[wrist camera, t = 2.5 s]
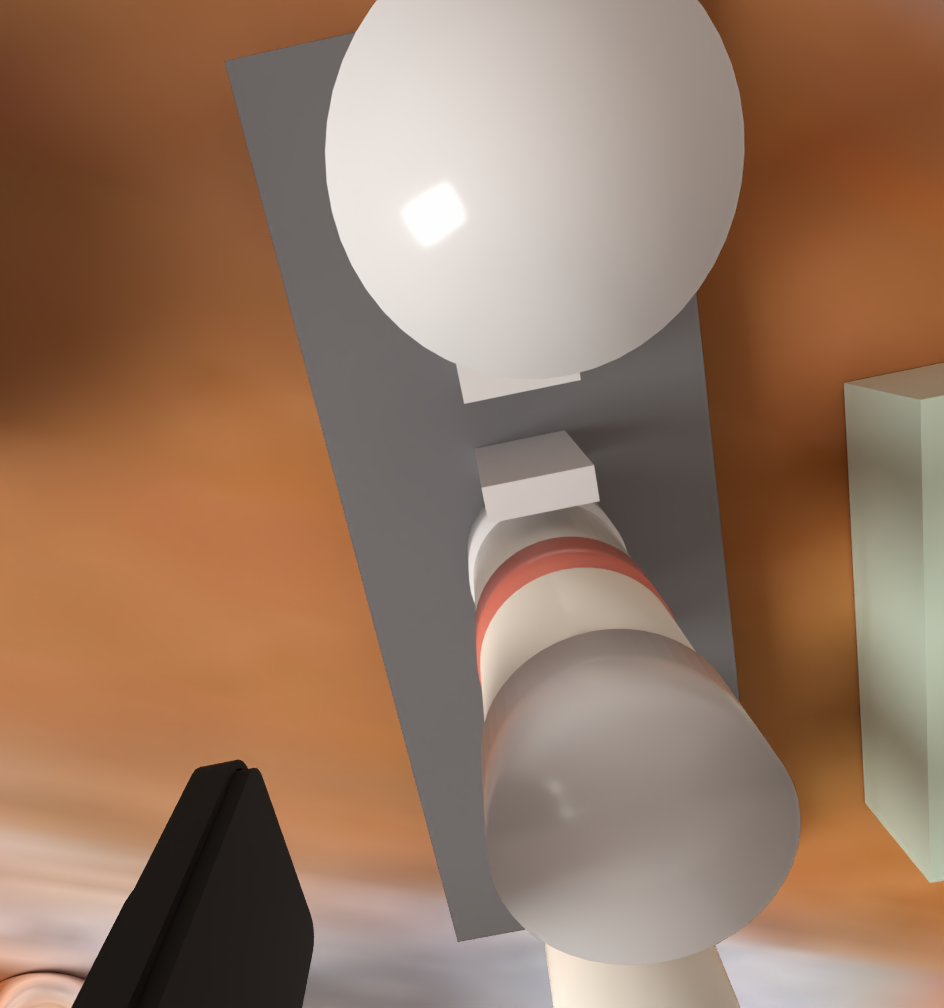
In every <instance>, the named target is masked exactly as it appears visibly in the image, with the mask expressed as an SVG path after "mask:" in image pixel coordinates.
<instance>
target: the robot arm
mask: <svg viewBox="0 0 944 1008" xmlns="http://www.w3.org/2000/svg"><path fill="white" fill-rule="evenodd" d="M313 946H314V929H313V922H312V918H311V914H310V912H309V909H308V906H307V903H306V900H305V897H304V894H303V892H302V889H301V886H300V883H299V880H298V877H297V874H296V872H295V869H294V866H293V863H292V860H291V857H290V854H289V852H288V849H287V846H286V843H285V840H284V837H283V834H282V832H281V829H280V826H279V823H278V820H277V817H276V814H275V811H274V809H273V806H272V803H271V800H270V797H269V794H268V791H267V789H266V786H265V783H264V780H263V777H262V775H261V773H260V771H259V770H258V769H257V768H251V769H248V768H247V766H246V764H245V763H244V762H243V761H241V760H234V761H229V762H224V763H219V764H214V765H209V766H204V767H200V768H197V769H196V770H195V771H194V773H193V774H192V776H191V778H190V780H189V782H188V783H187V785H186V787H185V789H184V791H183V793H182V795H181V797H180V799H179V801H178V803H177V805H176V807H175V809H174V811H173V813H172V815H171V817H170V819H169V821H168V823H167V825H166V827H165V829H164V831H163V833H162V835H161V837H160V839H159V841H158V843H157V845H156V847H155V849H154V851H153V853H152V855H151V857H150V859H149V861H148V863H147V865H146V867H145V869H144V870H143V872H142V874H141V876H140V878H139V880H138V882H137V884H136V886H135V888H134V890H133V891H132V892H131V894H130V895H129V897H128V898H127V900H126V901H125V903H124V905H123V907H122V909H121V911H120V913H119V915H118V917H117V919H116V921H115V923H114V925H113V927H112V929H111V931H110V932H109V934H108V936H107V938H106V940H105V942H104V944H103V946H102V948H101V950H100V952H99V954H98V956H97V958H96V960H95V962H94V964H93V966H92V968H91V970H90V972H89V974H88V976H87V978H86V980H85V982H84V983H83V985H82V987H81V989H80V991H79V993H78V995H77V997H76V999H75V1001H74V1003H73V1005H72V1007H71V1008H302V1005H303V999H304V994H305V989H306V984H307V979H308V974H309V968H310V963H311V958H312V953H313Z"/></svg>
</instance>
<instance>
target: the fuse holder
mask: <svg viewBox="0 0 944 1008" xmlns="http://www.w3.org/2000/svg"><path fill="white" fill-rule="evenodd" d="M355 33H356V32H354V33H349V34H345V35H340V36H336V37H331V38H327V39H322V40H318V41H313V42H309V43H304V44H300V45H295V46H291V47H286V48H282V49H277V50H273V51H268V52H264V53H259V54H255V55H250V56H246V57H241V58H237V59H232V60H228V61H225V65H226V69H227V72H228V76H229V80H230V84H231V87H232V91H233V95H234V99H235V103H236V106H237V110H238V114H239V118H240V121H241V125H242V129H243V133H244V136H245V140H246V144H247V148H248V152H249V155H250V159H251V163H252V167H253V170H254V174H255V178H256V182H257V186H258V189H259V193H260V197H261V201H262V204H263V208H264V212H265V216H266V219H267V223H268V227H269V231H270V235H271V238H272V242H273V246H274V250H275V253H276V257H277V261H278V265H279V269H280V272H281V276H282V280H283V284H284V287H285V291H286V295H287V299H288V303H289V306H290V310H291V314H292V318H293V321H294V325H295V329H296V333H297V336H298V340H299V344H300V348H301V352H302V355H303V359H304V363H305V367H306V370H307V374H308V378H309V382H310V386H311V389H312V393H313V397H314V401H315V404H316V408H317V412H318V416H319V420H320V423H321V427H322V431H323V435H324V438H325V442H326V446H327V450H328V453H329V457H330V461H331V465H332V469H333V472H334V476H335V480H336V484H337V487H338V491H339V495H340V499H341V503H342V506H343V510H344V514H345V518H346V521H347V525H348V529H349V533H350V537H351V540H352V544H353V548H354V552H355V555H356V559H357V563H358V567H359V570H360V574H361V578H362V582H363V586H364V589H365V593H366V597H367V601H368V604H369V608H370V612H371V616H372V620H373V623H374V627H375V631H376V635H377V638H378V642H379V646H380V650H381V653H382V657H383V661H384V665H385V669H386V672H387V676H388V680H389V684H390V687H391V691H392V695H393V699H394V703H395V706H396V710H397V714H398V718H399V721H400V725H401V729H402V733H403V737H404V740H405V744H406V748H407V752H408V755H409V759H410V763H411V767H412V770H413V774H414V778H415V782H416V786H417V789H418V793H419V797H420V801H421V804H422V808H423V812H424V816H425V820H426V823H427V827H428V831H429V835H430V838H431V842H432V846H433V850H434V854H435V857H436V861H437V865H438V869H439V872H440V876H441V880H442V884H443V887H444V891H445V895H446V899H447V903H448V906H449V910H450V914H451V918H452V921H453V925H454V929H455V933H456V937H457V940H458V942H460V941H465V940H471V939H476V938H482V937H487V936H493V935H498V934H503V933H509V932H514V931H520V930H525V928H524V927H523V926H522V925H521V924H520V923H519V922H518V921H517V920H516V919H515V918H514V917H513V916H512V915H511V913H510V912H509V911H508V909H507V908H506V907H505V905H504V904H503V902H502V900H501V898H500V897H499V895H498V893H497V891H496V889H495V886H494V883H493V880H492V877H491V874H490V870H489V864H488V858H487V846H486V831H485V815H484V800H483V784H482V769H481V737H482V731H483V726H484V710H483V697H482V687H481V684H480V681H479V674H478V667H477V653H476V639H475V615H476V608H475V603H474V600H473V597H472V594H471V589H470V583H469V569H468V553H467V544H468V537H469V532H470V529H471V526H472V523H473V521H474V519H475V517H476V515H477V514H478V512H479V510H480V509H481V508H482V506H483V505H484V504H485V508H486V513H487V518H488V523H493V522H498V521H503V520H508V519H513V518H518V517H523V516H528V515H533V514H538V513H543V512H548V511H553V510H558V509H563V508H568V507H573V506H578V505H583V504H588V503H593V502H597V503H598V504H599V505H600V507H601V508H602V510H603V511H604V512H605V514H606V515H607V517H608V518H609V519H610V521H611V522H612V524H613V525H614V526H615V528H616V529H617V531H618V532H619V534H620V536H621V537H622V539H623V541H624V544H625V547H626V549H627V552H628V554H629V555H630V557H631V558H632V559H633V560H634V561H635V562H636V563H637V564H638V565H639V566H640V568H641V569H642V570H643V572H644V573H645V574H646V576H647V577H648V579H649V580H650V581H651V583H652V584H653V586H654V587H655V589H656V590H657V591H658V593H659V594H660V596H661V597H662V599H663V600H664V602H665V603H666V604H667V606H668V607H669V609H670V611H671V613H672V615H673V616H674V618H675V621H676V624H677V625H678V627H679V628H680V629H681V631H682V632H683V634H684V635H685V637H686V638H687V640H688V641H689V643H690V644H691V645H692V647H693V648H694V650H695V651H696V653H698V654H699V655H701V656H702V657H703V658H704V659H705V660H706V661H707V662H709V663H710V664H711V665H712V666H713V667H714V668H715V670H716V671H717V672H718V674H719V675H720V676H721V677H722V679H723V680H724V681H725V683H726V684H727V686H728V687H729V689H730V690H731V691H732V693H733V694H734V696H735V697H736V698H737V700H738V701H739V703H740V700H739V691H738V681H737V672H736V663H735V653H734V644H733V634H732V625H731V615H730V606H729V597H728V587H727V578H726V568H725V559H724V549H723V540H722V531H721V521H720V512H719V502H718V493H717V484H716V474H715V465H714V455H713V446H712V436H711V427H710V418H709V408H708V399H707V389H706V380H705V370H704V361H703V352H702V342H701V333H700V323H699V314H698V304H697V295H696V293H695V294H694V296H693V297H692V298H691V299H690V300H689V302H688V303H687V304H686V305H685V307H684V308H683V309H682V310H681V311H680V312H679V313H678V314H677V315H676V316H675V317H674V318H673V319H672V320H671V321H670V322H669V323H668V324H667V325H666V326H665V327H664V328H663V329H662V330H660V331H659V332H658V333H656V334H655V335H654V336H653V337H651V338H650V339H649V340H647V341H646V342H645V343H643V344H642V345H641V346H639V347H637V348H635V349H634V350H632V351H630V352H628V353H627V354H625V355H623V356H622V357H620V358H618V359H616V360H613V361H611V362H609V363H606V364H604V365H601V366H599V367H597V368H594V369H591V370H587V371H583V372H580V373H576V374H573V375H568V376H561V377H554V378H547V379H515V378H508V377H500V376H493V375H489V374H486V373H482V372H478V371H474V370H470V369H468V368H465V367H463V366H460V365H458V364H456V363H453V362H451V361H448V360H446V359H444V358H442V357H441V356H439V355H437V354H436V353H434V352H432V351H430V350H429V349H427V348H425V347H423V346H422V345H421V344H419V343H418V342H417V341H416V340H414V339H413V338H412V337H410V336H409V335H408V334H406V333H405V332H404V331H402V330H401V329H400V328H399V327H398V326H397V325H396V324H395V323H394V322H393V321H392V320H391V319H390V318H389V317H388V316H387V315H386V314H385V313H384V312H383V311H382V309H381V308H380V307H379V305H378V304H377V303H376V302H375V300H374V299H373V298H372V296H371V295H370V294H369V293H368V291H367V290H366V288H365V287H364V285H363V283H362V282H361V280H360V278H359V277H358V275H357V273H356V272H355V270H354V268H353V267H352V265H351V262H350V260H349V258H348V256H347V253H346V251H345V249H344V247H343V244H342V242H341V240H340V237H339V233H338V230H337V227H336V224H335V220H334V217H333V214H332V210H331V204H330V198H329V193H328V187H327V179H326V161H325V144H326V129H327V119H328V113H329V108H330V103H331V97H332V92H333V89H334V85H335V82H336V79H337V76H338V73H339V70H340V67H341V64H342V61H343V59H344V56H345V54H346V52H347V50H348V48H349V46H350V43H351V41H352V39H353V37H354V35H355Z"/></svg>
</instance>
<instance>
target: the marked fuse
mask: <svg viewBox="0 0 944 1008" xmlns="http://www.w3.org/2000/svg"><path fill="white" fill-rule="evenodd" d="M467 553H468V569H469V583H470V589H471V594H472V597H473V600H474V603H475V608H476V615H475V639H476V653H477V667H478V674H479V681H480V684H481V687H482V697H483V710H484V726H483V731H482V737H481V769H482V784H483V800H484V815H485V831H486V846H487V858H488V864H489V870H490V874H491V877H492V880H493V883H494V886H495V889H496V891H497V893H498V895H499V897H500V898H501V900H502V902H503V904H504V905H505V907H506V908H507V909H508V911H509V912H510V913H511V915H512V916H513V917H514V918H515V919H516V920H517V921H518V922H519V923H520V924H521V925H522V926H523V927H524V928H525V929H526V930H527V931H528V932H530V933H531V934H532V935H534V936H535V937H536V938H537V939H539V940H541V941H542V942H544V943H546V944H547V945H549V946H551V947H553V948H555V949H557V950H559V951H562V952H564V953H566V954H568V955H571V956H575V957H578V958H581V959H585V960H588V961H594V962H599V963H605V964H616V965H645V964H653V963H660V962H666V961H670V960H674V959H679V958H683V957H686V956H689V955H691V954H694V953H697V952H700V951H703V950H705V949H707V948H709V947H711V946H713V945H716V944H718V943H720V942H721V941H723V940H725V939H726V938H728V937H730V936H731V935H733V934H735V933H736V932H737V931H739V930H740V929H741V928H743V927H744V926H745V925H747V924H748V923H749V922H751V921H752V920H753V919H754V918H755V917H756V916H757V915H758V914H759V913H760V912H761V911H762V910H763V909H764V908H765V907H766V906H767V905H768V903H769V902H770V901H771V900H772V899H773V898H774V896H775V895H776V894H777V892H778V890H779V889H780V887H781V886H782V884H783V883H784V881H785V879H786V877H787V875H788V873H789V871H790V869H791V867H792V865H793V862H794V858H795V855H796V852H797V849H798V843H799V837H800V808H799V802H798V797H797V794H796V791H795V788H794V785H793V782H792V779H791V778H790V776H789V774H788V772H787V770H786V768H785V766H784V765H783V763H782V762H781V760H780V759H779V758H778V756H777V755H776V753H775V752H774V751H773V749H772V748H771V746H770V745H769V744H768V742H767V741H766V739H765V738H764V736H763V735H762V734H761V732H760V731H759V729H758V728H757V727H756V725H755V724H754V722H753V721H752V720H751V718H750V717H749V715H748V714H747V712H746V711H745V710H744V708H743V707H742V705H741V704H740V703H739V701H738V700H737V698H736V697H735V696H734V694H733V693H732V691H731V690H730V689H729V687H728V686H727V684H726V683H725V681H724V680H723V679H722V677H721V676H720V675H719V674H718V672H717V671H716V670H715V668H714V667H713V666H712V665H711V664H710V663H709V662H707V661H706V660H705V659H704V658H703V657H702V656H701V655H699V654H698V653H696V651H695V650H694V648H693V647H692V645H691V644H690V643H689V641H688V640H687V638H686V637H685V635H684V634H683V632H682V631H681V629H680V628H679V627H678V625H677V624H676V621H675V618H674V616H673V615H672V613H671V611H670V609H669V607H668V606H667V604H666V603H665V602H664V600H663V599H662V597H661V596H660V594H659V593H658V591H657V590H656V589H655V587H654V586H653V584H652V583H651V581H650V580H649V579H648V577H647V576H646V574H645V573H644V572H643V570H642V569H641V568H640V566H639V565H638V564H637V563H636V562H635V561H634V560H633V559H632V558H631V557H630V555H629V554H628V552H627V549H626V547H625V544H624V541H623V539H622V537H621V536H620V534H619V532H618V531H617V529H616V528H615V526H614V525H613V524H612V522H611V521H610V519H609V518H608V517H607V515H606V514H605V512H604V511H603V510H602V508H601V507H600V505H599V504H598V503H597V502H593V503H588V504H583V505H578V506H573V507H568V508H563V509H558V510H553V511H548V512H543V513H538V514H533V515H528V516H523V517H518V518H513V519H508V520H503V521H498V522H493V523H488V518H487V513H486V508H485V504H484V505H483V506H482V508H481V509H480V510H479V512H478V514H477V515H476V517H475V519H474V521H473V523H472V526H471V529H470V532H469V537H468V544H467Z"/></svg>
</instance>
